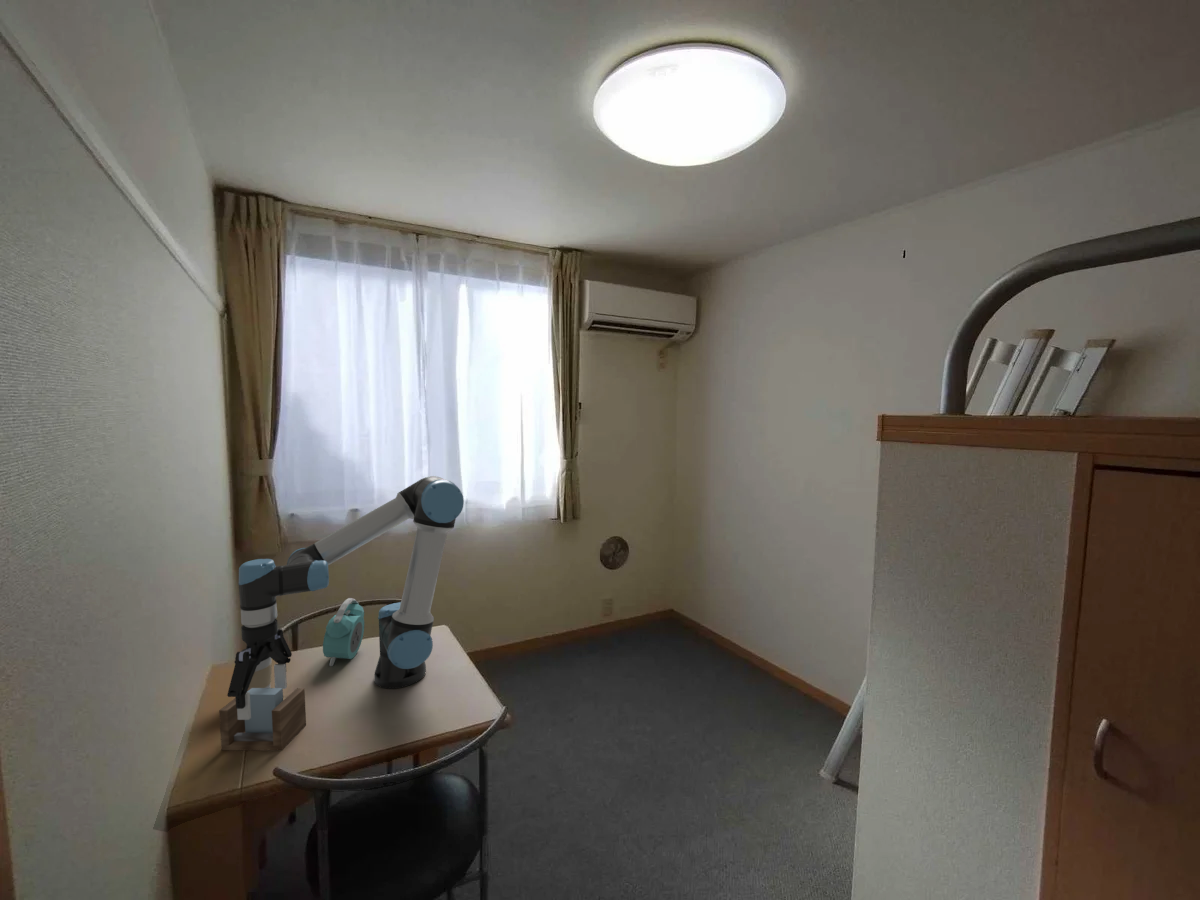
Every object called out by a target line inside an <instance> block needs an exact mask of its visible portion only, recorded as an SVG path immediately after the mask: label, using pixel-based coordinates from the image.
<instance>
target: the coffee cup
mask: <svg viewBox="0 0 1200 900" xmlns="http://www.w3.org/2000/svg"><path fill="white" fill-rule="evenodd" d="M245 650H246V648H244V649H242V650H240V652H243V651H245ZM234 659H235V660H234V661H233V662H234V664H235V663H236V657H234ZM249 661H255V660H252V659H251V658H250V660H249ZM272 667H273V659H272V658H271V657H270V656H269V655H268V656H265V657H264V658H263V659H262V660H261V662H260V664H259V665H257V667H256V670H255V672H254V675H253V677H252V680H251V683H250V685H249V688H271V683H272V670H273V668H272ZM242 690H243V688H242Z"/></svg>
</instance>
